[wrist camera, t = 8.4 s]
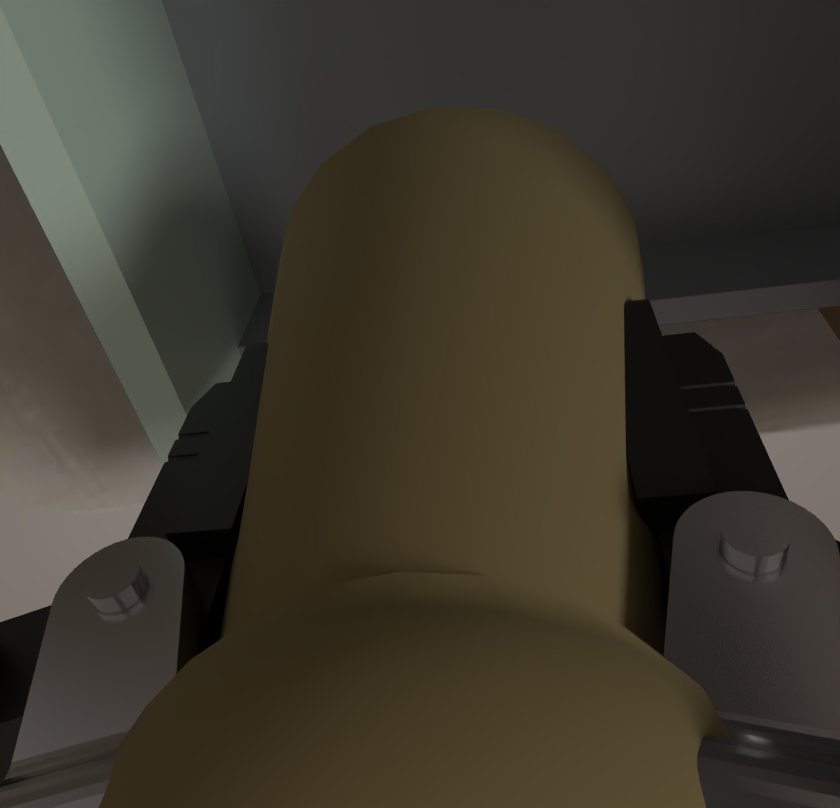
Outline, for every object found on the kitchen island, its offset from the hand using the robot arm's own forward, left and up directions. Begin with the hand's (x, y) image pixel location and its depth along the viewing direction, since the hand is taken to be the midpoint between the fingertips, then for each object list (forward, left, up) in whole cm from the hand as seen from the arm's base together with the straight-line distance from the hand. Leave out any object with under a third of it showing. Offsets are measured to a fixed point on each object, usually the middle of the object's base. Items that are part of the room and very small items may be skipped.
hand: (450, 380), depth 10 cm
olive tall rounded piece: (0, 0, -3) cm, 3 cm away
